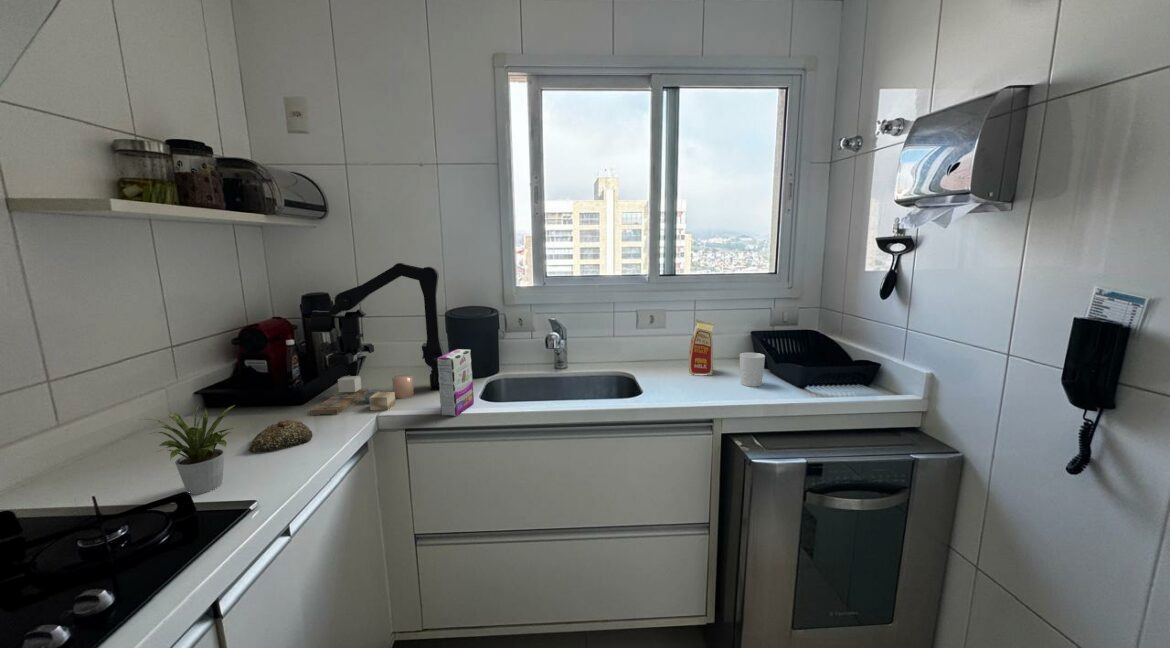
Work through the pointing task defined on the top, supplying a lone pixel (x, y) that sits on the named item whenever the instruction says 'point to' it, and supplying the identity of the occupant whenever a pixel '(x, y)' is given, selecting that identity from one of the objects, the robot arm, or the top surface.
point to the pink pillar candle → (403, 386)
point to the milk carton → (701, 349)
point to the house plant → (198, 453)
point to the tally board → (338, 402)
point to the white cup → (751, 369)
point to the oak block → (382, 400)
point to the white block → (349, 384)
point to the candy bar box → (455, 382)
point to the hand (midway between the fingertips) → (354, 380)
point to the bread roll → (281, 436)
